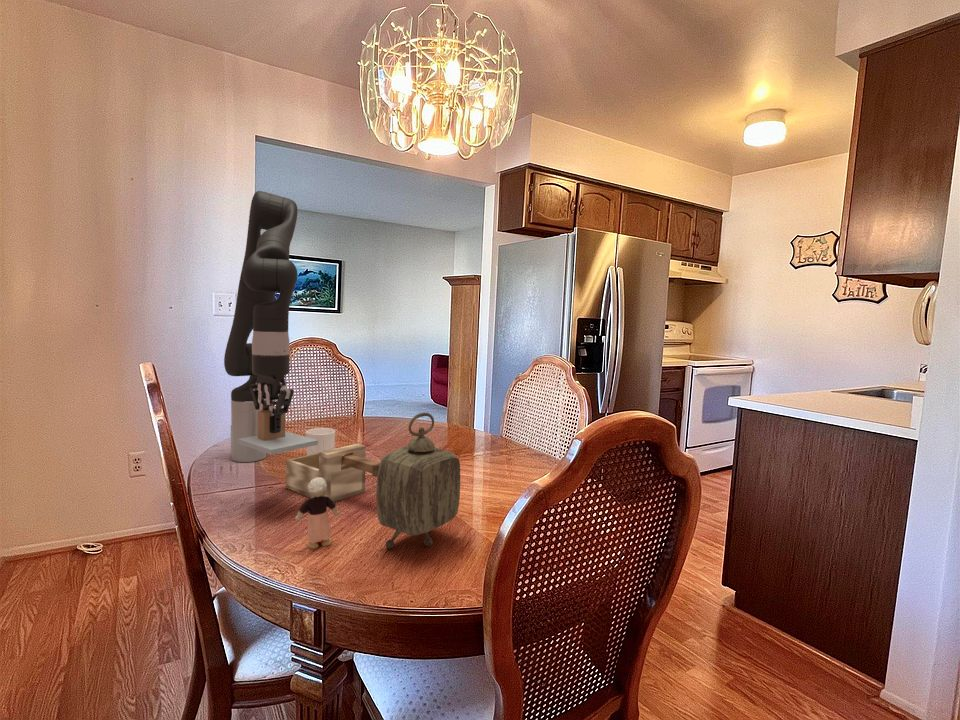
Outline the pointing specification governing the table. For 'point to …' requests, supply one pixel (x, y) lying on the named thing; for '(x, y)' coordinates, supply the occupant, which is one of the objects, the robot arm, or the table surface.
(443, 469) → the tabletop clock
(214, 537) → the table surface
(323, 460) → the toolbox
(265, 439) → the lid
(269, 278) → the robot arm
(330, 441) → the white cup
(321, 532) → the grandmother figurine
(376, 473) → the bar
